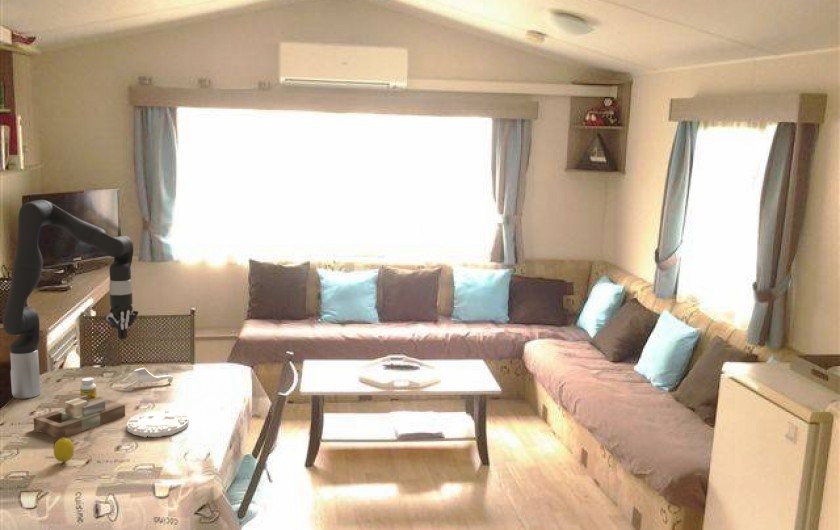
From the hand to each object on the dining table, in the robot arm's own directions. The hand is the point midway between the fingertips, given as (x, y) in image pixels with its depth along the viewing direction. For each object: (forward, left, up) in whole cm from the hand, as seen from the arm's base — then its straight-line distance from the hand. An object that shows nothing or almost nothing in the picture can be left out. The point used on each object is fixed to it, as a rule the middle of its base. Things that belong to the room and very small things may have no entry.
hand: (122, 338), depth 270 cm
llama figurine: (-11, +19, -26) cm, 33 cm away
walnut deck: (+2, -20, -25) cm, 32 cm away
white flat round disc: (+26, -7, -26) cm, 37 cm away
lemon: (+26, -42, -25) cm, 55 cm away
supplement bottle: (-11, -7, -25) cm, 28 cm away
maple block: (+2, -21, -21) cm, 30 cm away
